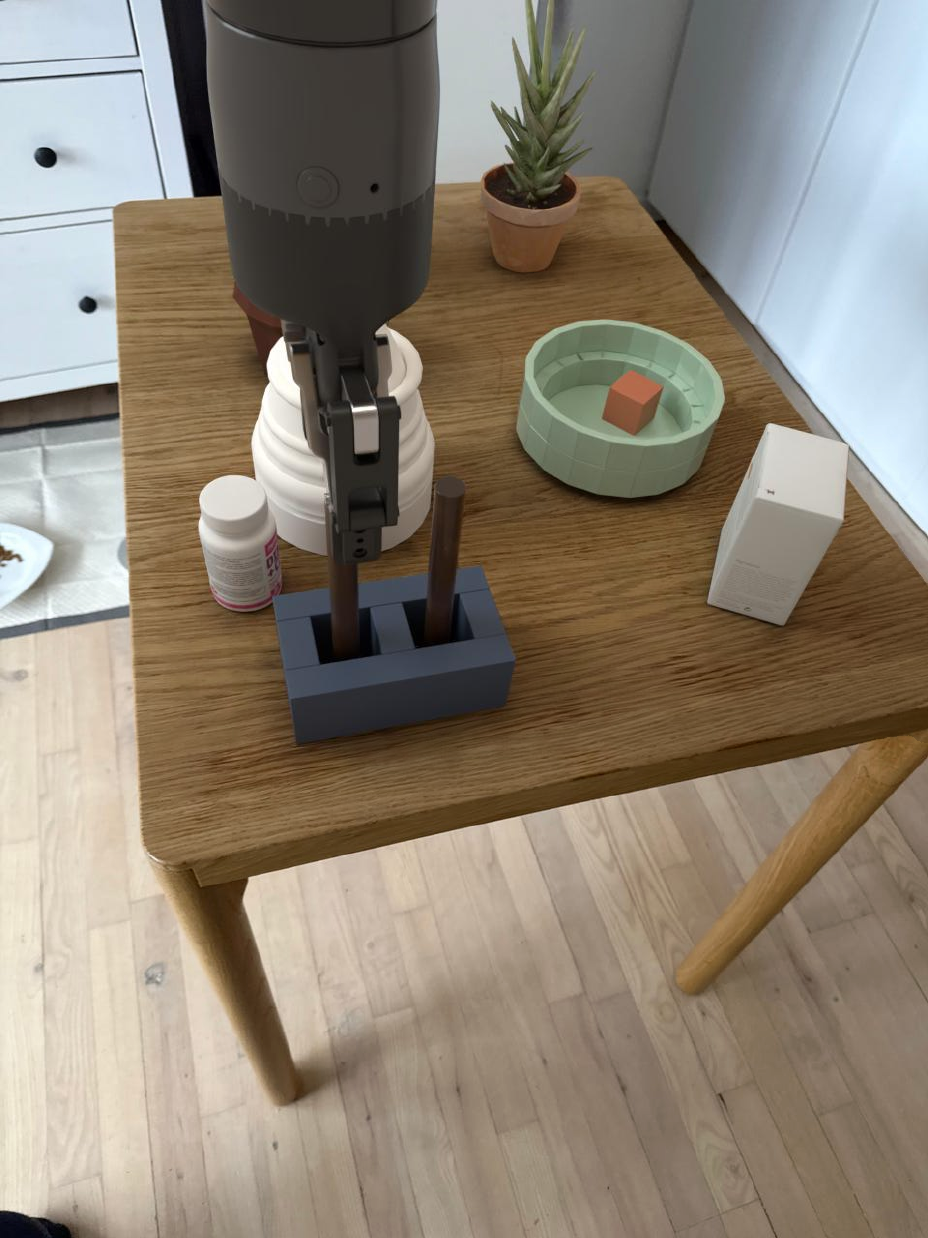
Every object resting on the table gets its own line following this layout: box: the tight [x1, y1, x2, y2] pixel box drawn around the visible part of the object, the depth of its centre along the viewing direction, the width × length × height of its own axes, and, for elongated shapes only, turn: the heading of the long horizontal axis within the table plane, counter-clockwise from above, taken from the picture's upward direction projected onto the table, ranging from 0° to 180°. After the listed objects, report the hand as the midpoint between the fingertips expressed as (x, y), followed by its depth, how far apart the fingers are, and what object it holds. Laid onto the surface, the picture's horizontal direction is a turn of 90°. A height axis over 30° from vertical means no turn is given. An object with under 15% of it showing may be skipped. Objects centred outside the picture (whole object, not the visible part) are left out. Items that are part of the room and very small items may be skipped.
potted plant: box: [480, 0, 597, 274], centre depth 80 cm, size 10×10×25 cm
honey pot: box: [250, 323, 436, 557], centre depth 60 cm, size 13×13×18 cm
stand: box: [272, 565, 517, 745], centre depth 55 cm, size 8×13×5 cm, turn 105°
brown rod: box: [324, 500, 361, 663], centre depth 50 cm, size 2×2×16 cm
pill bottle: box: [198, 474, 283, 613], centre depth 57 cm, size 5×5×8 cm
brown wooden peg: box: [422, 475, 467, 648], centre depth 51 cm, size 2×2×16 cm
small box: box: [706, 422, 851, 626], centre depth 61 cm, size 8×6×10 cm
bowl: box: [515, 318, 726, 499], centre depth 71 cm, size 15×15×6 cm
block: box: [602, 370, 663, 436], centre depth 72 cm, size 3×3×3 cm
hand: (339, 493), depth 43 cm, fingers open, 8 cm apart
